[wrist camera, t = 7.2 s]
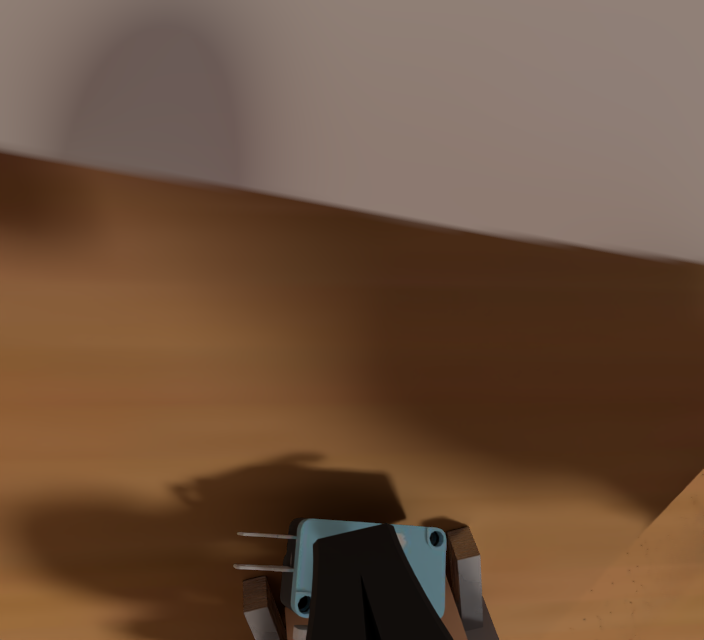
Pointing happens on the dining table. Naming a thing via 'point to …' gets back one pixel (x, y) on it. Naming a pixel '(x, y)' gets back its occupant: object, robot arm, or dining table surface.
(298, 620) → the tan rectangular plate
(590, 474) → the dining table surface
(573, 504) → the dining table surface
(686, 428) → the dining table surface
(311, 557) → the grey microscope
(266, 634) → the grey l-shaped bracket
